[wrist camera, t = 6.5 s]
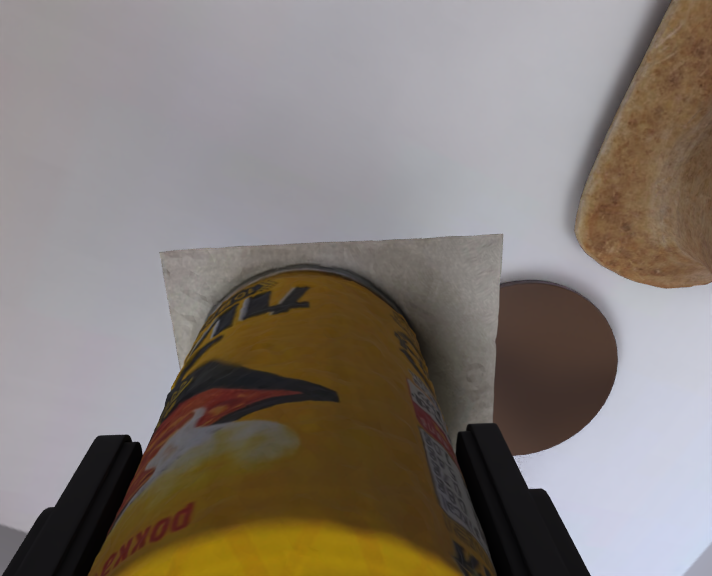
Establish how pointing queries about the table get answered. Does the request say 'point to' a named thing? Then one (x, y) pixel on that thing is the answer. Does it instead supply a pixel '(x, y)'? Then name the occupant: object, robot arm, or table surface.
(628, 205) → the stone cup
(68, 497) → the robot arm
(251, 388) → the condiment
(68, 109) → the table surface
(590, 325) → the coaster
